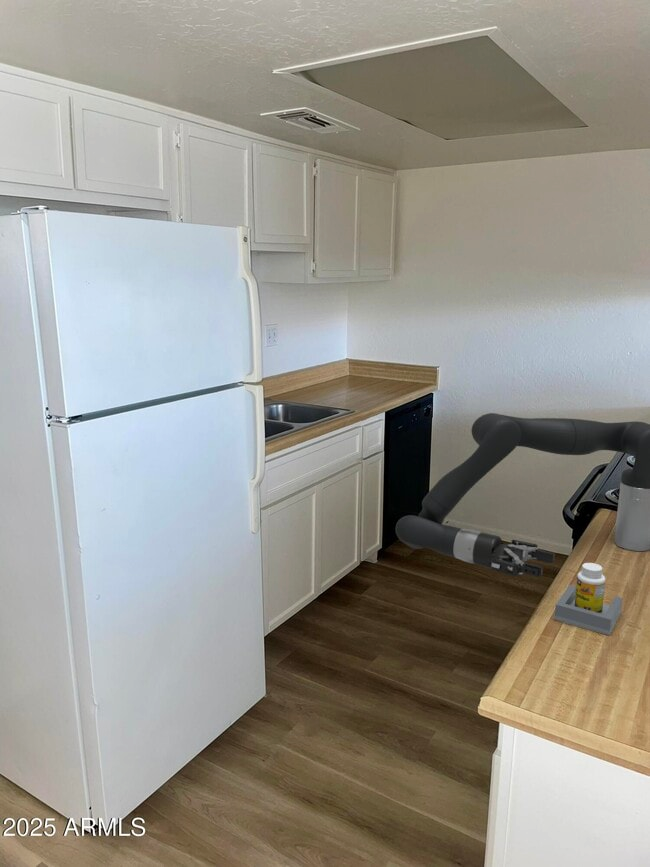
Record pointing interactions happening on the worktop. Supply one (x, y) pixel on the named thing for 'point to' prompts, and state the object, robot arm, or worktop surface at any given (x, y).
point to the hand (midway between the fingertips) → (548, 565)
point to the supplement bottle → (590, 588)
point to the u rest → (587, 613)
